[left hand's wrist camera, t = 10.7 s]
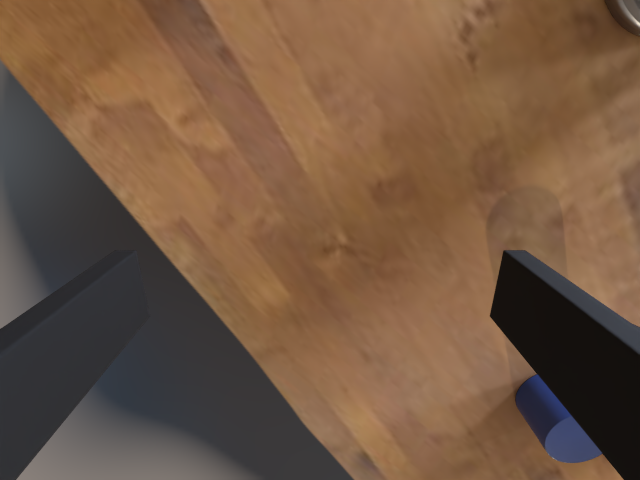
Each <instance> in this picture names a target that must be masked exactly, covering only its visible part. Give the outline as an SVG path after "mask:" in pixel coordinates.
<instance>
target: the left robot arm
mask: <svg viewBox="0 0 640 480" xmlns="http://www.w3.org/2000/svg"><path fill="white" fill-rule="evenodd" d="M605 2H606V4H607V7H608V9H609V11H610V12H611V14H612V16H613V17H614V18H615V20H616V21H617V22H618V23H619V24H620V25H621V26H622V27H623V28H625V29H626V30H627V31H629V32H631V33H633V34H635V35H638V36H640V0H605ZM149 317H150V313H149V308H148V304H147V299H146V294H145V289H144V285H143V280H142V275H141V270H140V266H139V261H138V256H137V252H136V250H115V251H113V252H112V253H110V254H109V255H107V256H106V257H105V258H103V259H102V260H100V261H99V262H97V263H96V264H94V265H93V266H92V267H90V268H89V269H87V270H86V271H84V272H83V273H81V274H80V275H78V276H77V277H76V278H74V279H73V280H71V281H70V282H68V283H67V284H65V285H64V286H62V287H61V288H60V289H58V290H57V291H55V292H54V293H52V294H51V295H49V296H48V297H46V298H45V299H44V300H42V301H41V302H39V303H38V304H36V305H35V306H33V307H32V308H30V309H29V310H28V311H26V312H25V313H23V314H22V315H20V316H19V317H17V318H16V319H15V320H13V321H12V322H10V323H9V324H7V325H6V326H4V327H3V328H1V329H0V480H16V479H17V478H18V477H19V475H20V474H21V473H22V472H23V471H24V469H25V468H26V467H27V466H28V464H29V463H30V462H31V461H32V459H33V458H34V457H35V456H36V455H37V453H38V452H39V451H40V450H41V449H42V447H43V446H44V445H45V444H46V442H47V441H48V440H49V439H50V438H51V436H52V435H53V434H54V433H55V432H56V430H57V429H58V428H59V427H60V425H61V424H62V423H63V422H64V421H65V419H66V418H67V417H68V416H69V414H70V413H71V412H72V411H73V410H74V408H75V407H76V406H77V405H78V404H79V402H80V401H81V400H82V399H83V397H84V396H85V395H86V394H87V393H88V391H89V390H90V389H91V388H92V386H93V385H94V384H95V383H96V382H97V380H98V379H99V378H100V377H101V375H102V374H103V373H104V372H105V371H106V369H107V368H108V367H109V366H110V365H111V363H112V362H113V361H114V360H115V358H116V357H117V356H118V355H119V354H120V352H121V351H122V350H123V349H124V347H125V346H126V345H127V344H128V343H129V341H130V340H131V339H132V338H133V336H134V335H135V334H136V333H137V332H138V330H139V329H140V328H141V327H142V326H143V324H144V323H145V322H146V321H147V319H148V318H149ZM490 317H491V318H492V319H493V321H494V322H495V323H496V324H497V326H498V327H499V328H500V329H501V330H502V332H503V333H504V334H505V335H506V336H507V338H508V339H509V340H510V341H511V343H512V344H513V345H514V346H515V347H516V349H517V350H518V351H519V352H520V354H521V355H522V356H523V357H524V358H525V360H526V361H527V362H528V363H529V365H530V366H531V367H532V368H533V369H534V371H535V372H536V373H537V374H538V375H539V377H540V378H541V379H542V380H543V382H544V383H545V384H546V385H547V386H548V388H549V389H550V390H551V391H552V393H553V394H554V395H555V396H556V397H557V399H558V400H559V401H560V402H561V404H562V405H563V406H564V407H565V408H566V410H567V411H568V412H569V413H570V414H571V416H572V417H573V418H574V419H575V421H576V422H577V423H578V424H579V425H580V427H581V428H582V429H583V430H584V432H585V433H586V434H587V435H588V436H589V438H590V439H591V440H592V441H593V443H594V444H595V445H596V446H597V447H598V449H599V450H600V451H601V452H602V453H603V455H604V456H605V457H606V458H607V460H608V461H609V462H610V463H611V464H612V466H613V467H614V468H615V469H616V471H617V472H618V473H619V474H620V475H621V477H622V478H623V479H624V480H640V327H638V326H636V325H634V324H632V323H630V322H628V321H627V320H626V319H624V318H623V317H621V316H620V315H618V314H617V313H615V312H614V311H612V310H611V309H610V308H608V307H607V306H605V305H604V304H602V303H601V302H599V301H598V300H596V299H595V298H594V297H592V296H591V295H589V294H588V293H586V292H585V291H583V290H582V289H580V288H579V287H578V286H576V285H575V284H573V283H572V282H570V281H569V280H567V279H566V278H565V277H563V276H562V275H560V274H559V273H557V272H556V271H554V270H553V269H551V268H550V267H549V266H547V265H546V264H544V263H543V262H541V261H540V260H538V259H537V258H535V257H534V256H533V255H531V254H530V253H528V252H527V251H525V250H504V251H503V256H502V261H501V266H500V270H499V275H498V280H497V285H496V289H495V294H494V299H493V304H492V308H491V313H490Z"/></svg>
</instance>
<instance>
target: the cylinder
mask: <svg viewBox="0 0 640 480" xmlns="http://www.w3.org/2000/svg"><path fill="white" fill-rule="evenodd" d="M516 405H517V408H518V409H519V411H520V412H521V414H522V415H523V417H524V418H525V420H526V421H527V423H528V424H529V426H530V427H531V429H532V430H533V432H534V433H535V435H536V436H537V438H538V439H539V441H540V443H541V444H542V446H543V447H544V449H545V450H546V452H547V453H548V454H549V455H550V456H551V457H552V458H554V459H555V460H558V461H561V462H565V463H578V462H584V461H587V460H590V459H593V458H595V457H597V456H599V455H601V454H602V452H601V451H600V450H599V449H598V447H597V446H596V445H595V444H594V443H593V441H592V440H591V439H590V438H589V436H588V435H587V434H586V433H585V432H584V430H583V429H582V428H581V427H580V425H579V424H578V423H577V422H576V421H575V419H574V418H573V417H572V416H571V414H570V413H569V412H568V411H567V410H566V408H565V407H564V406H563V405H562V404H561V402H560V401H559V400H558V399H557V397H556V396H555V395H554V394H553V393H552V391H551V390H550V389H549V388H548V386H547V385H546V384H545V383H544V382H543V380H542V379H541V378H540V377H539V375H538V374H537V375H535V376H533V377H531V378H530V379H528V380H527V381H526V382H524V383H523V384H522V385H521V387H520V388H519V390H518V392H517V394H516Z"/></svg>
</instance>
